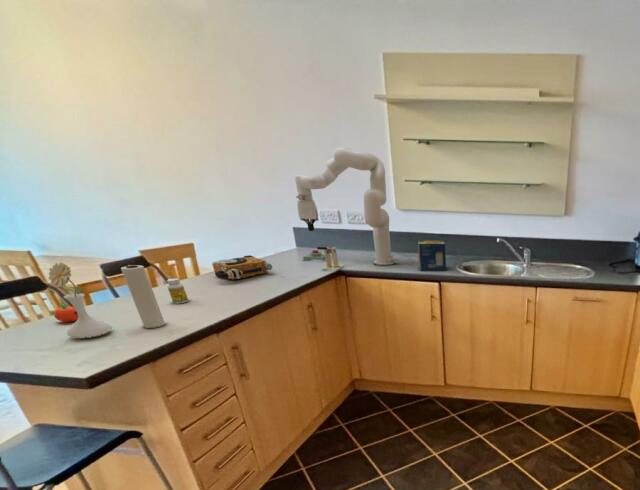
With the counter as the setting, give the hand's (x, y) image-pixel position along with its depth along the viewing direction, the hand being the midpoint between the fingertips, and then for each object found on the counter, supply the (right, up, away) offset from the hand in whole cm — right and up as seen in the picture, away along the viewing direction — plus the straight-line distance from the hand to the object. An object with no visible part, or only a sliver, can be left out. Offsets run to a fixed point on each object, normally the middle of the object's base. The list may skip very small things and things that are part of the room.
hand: (311, 230), depth 253 cm
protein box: (+75, -25, -4) cm, 79 cm away
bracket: (+19, -27, -13) cm, 36 cm away
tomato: (-40, -71, -100) cm, 129 cm away
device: (-19, -37, -35) cm, 55 cm away
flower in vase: (-21, -78, -111) cm, 137 cm away
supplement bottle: (-19, -59, -76) cm, 98 cm away
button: (0, -12, +6) cm, 14 cm away
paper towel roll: (-9, -72, -101) cm, 124 cm away
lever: (+19, -20, -22) cm, 36 cm away
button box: (-1, -15, +8) cm, 17 cm away
